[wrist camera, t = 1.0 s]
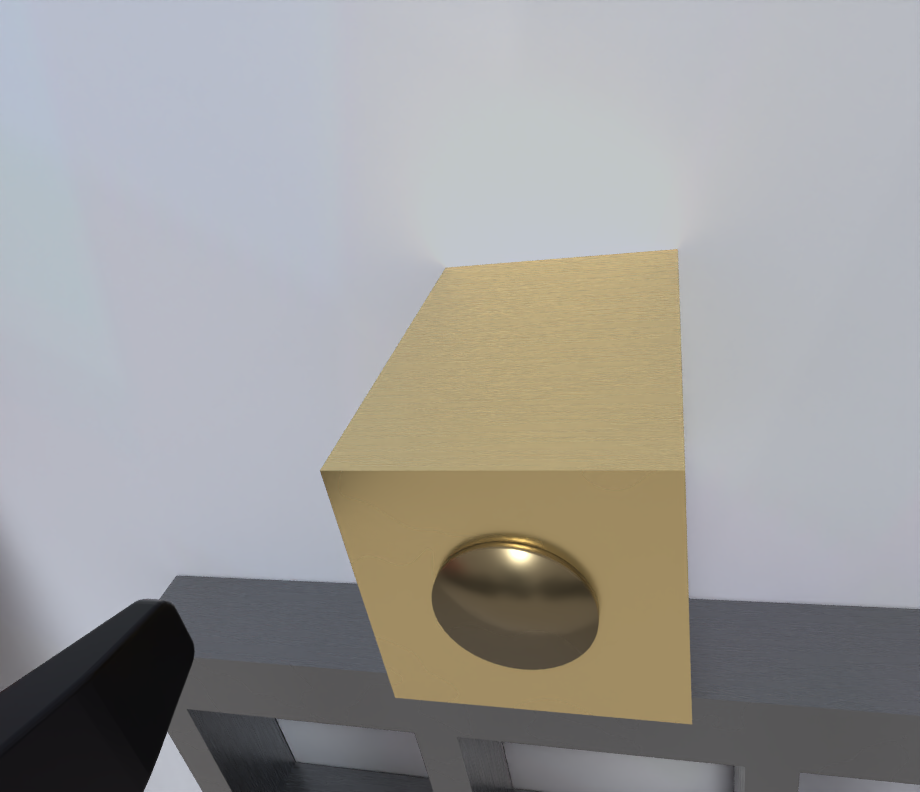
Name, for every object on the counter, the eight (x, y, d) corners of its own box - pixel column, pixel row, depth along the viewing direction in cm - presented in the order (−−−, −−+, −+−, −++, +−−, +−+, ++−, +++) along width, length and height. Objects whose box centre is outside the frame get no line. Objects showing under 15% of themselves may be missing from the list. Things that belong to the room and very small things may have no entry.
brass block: (677, 249, 12) (686, 479, 7) (683, 446, 14) (692, 734, 9) (446, 267, 14) (315, 478, 8) (480, 448, 16) (392, 707, 10)
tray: (1200, 622, 14) (1293, 746, 12) (1072, 901, 19) (1122, 1023, 17) (176, 575, 20) (120, 651, 18) (285, 795, 25) (251, 874, 23)
